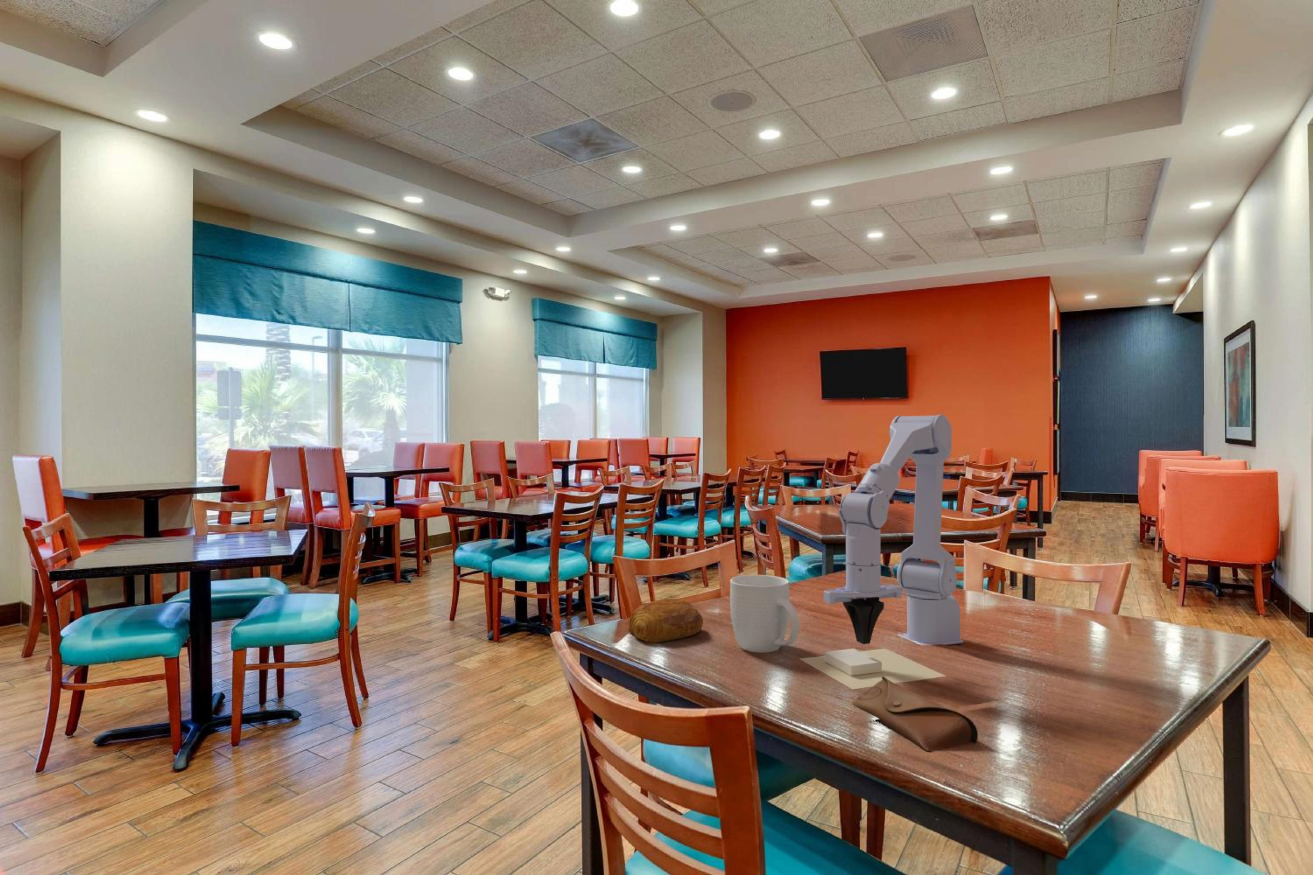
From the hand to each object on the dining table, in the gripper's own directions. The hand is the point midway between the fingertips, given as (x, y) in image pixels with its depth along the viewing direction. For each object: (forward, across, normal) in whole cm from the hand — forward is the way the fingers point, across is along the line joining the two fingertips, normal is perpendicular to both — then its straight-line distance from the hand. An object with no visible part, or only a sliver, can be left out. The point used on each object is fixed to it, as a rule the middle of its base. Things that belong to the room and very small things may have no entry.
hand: (863, 642), depth 122 cm
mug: (+5, +11, -15) cm, 19 cm away
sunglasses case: (+5, +8, +21) cm, 23 cm away
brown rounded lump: (+5, +24, -33) cm, 41 cm away
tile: (+3, -1, 0) cm, 3 cm away
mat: (+5, -1, +1) cm, 5 cm away
